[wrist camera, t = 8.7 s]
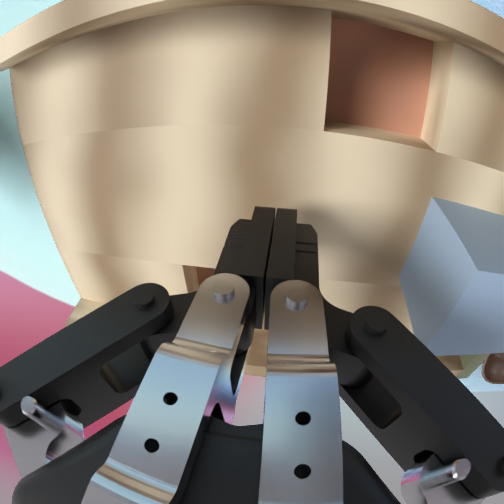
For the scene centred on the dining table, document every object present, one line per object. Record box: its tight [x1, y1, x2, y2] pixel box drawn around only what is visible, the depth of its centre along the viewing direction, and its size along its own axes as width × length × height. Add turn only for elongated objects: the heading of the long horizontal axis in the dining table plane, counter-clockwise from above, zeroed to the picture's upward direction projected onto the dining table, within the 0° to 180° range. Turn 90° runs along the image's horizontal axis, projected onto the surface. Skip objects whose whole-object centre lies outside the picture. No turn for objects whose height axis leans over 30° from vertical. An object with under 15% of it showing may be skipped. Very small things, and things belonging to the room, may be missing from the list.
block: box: [399, 197, 504, 356], centre depth 10 cm, size 6×4×4 cm
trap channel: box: [0, 0, 504, 379], centre depth 12 cm, size 27×18×4 cm
